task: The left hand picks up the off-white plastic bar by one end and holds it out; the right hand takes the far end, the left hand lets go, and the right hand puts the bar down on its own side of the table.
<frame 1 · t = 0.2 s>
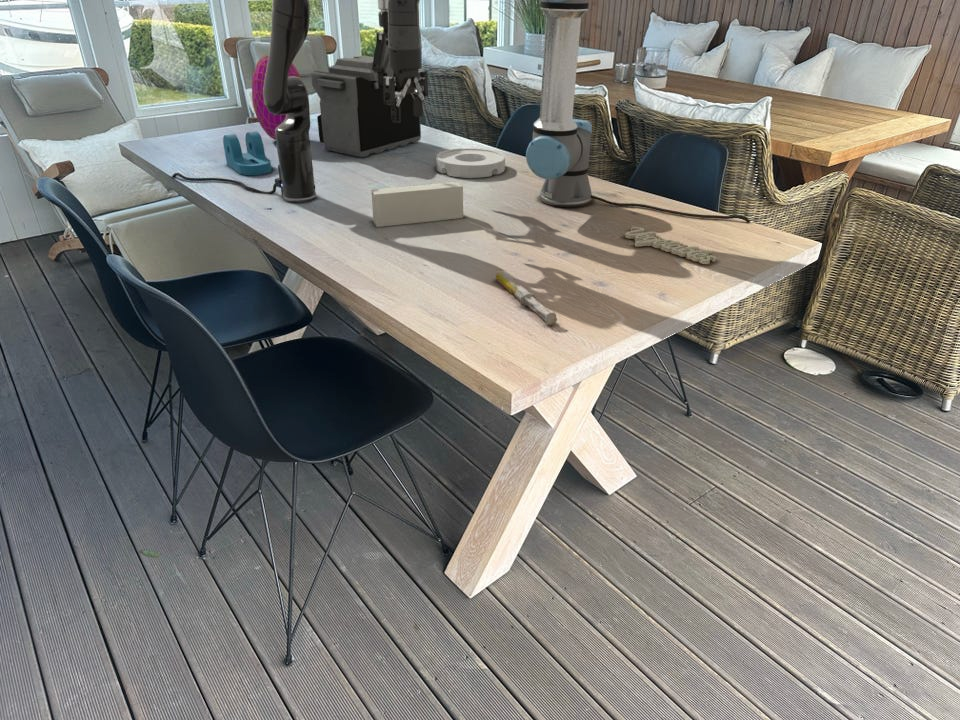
left hand: (407, 119, 166), 28 cm above the table, tool pointing down, fingers open, 8 cm apart
right hand: (396, 93, 197), 28 cm above the table, tool pointing down, fingers open, 13 cm apart
decorative sign: (664, 248, 171), on the table
decorative egg: (284, 140, 265), on the table
camera mount: (251, 168, 229), on the table
ashtray: (470, 168, 232), on the table
bar: (418, 219, 187), on the table
syringe: (524, 301, 143), on the table
tool box: (371, 146, 258), on the table
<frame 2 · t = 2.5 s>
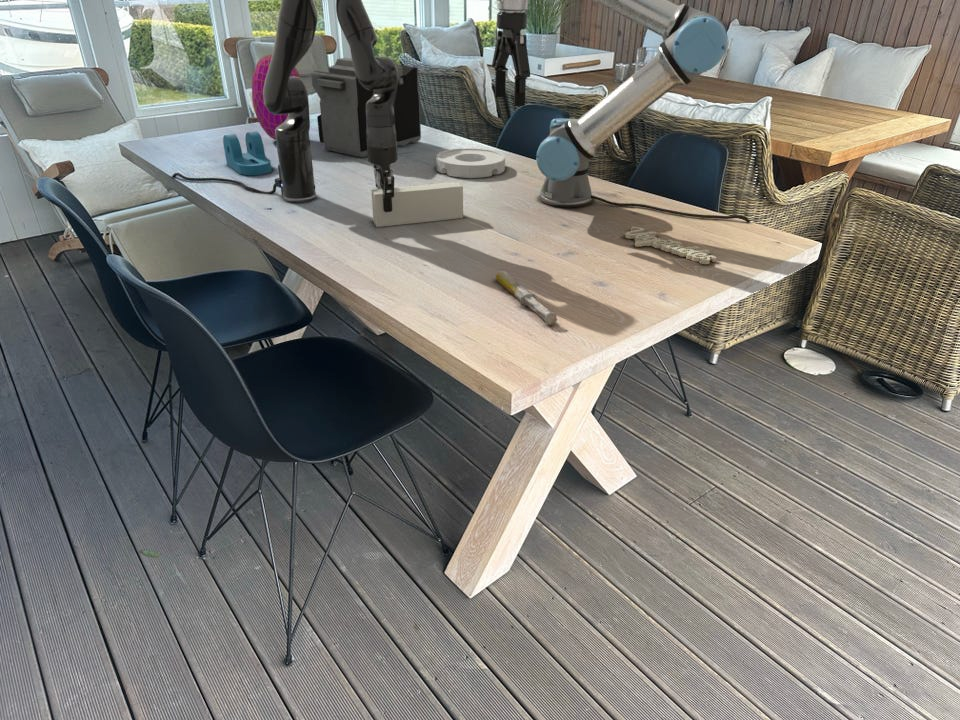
left hand: (385, 208, 182), 4 cm above the table, tool pointing down, fingers closed on bar, 4 cm apart
right hand: (509, 101, 181), 29 cm above the table, tool pointing down, fingers open, 13 cm apart
bar: (418, 219, 187), on the table, touching left hand
everything else where it was.
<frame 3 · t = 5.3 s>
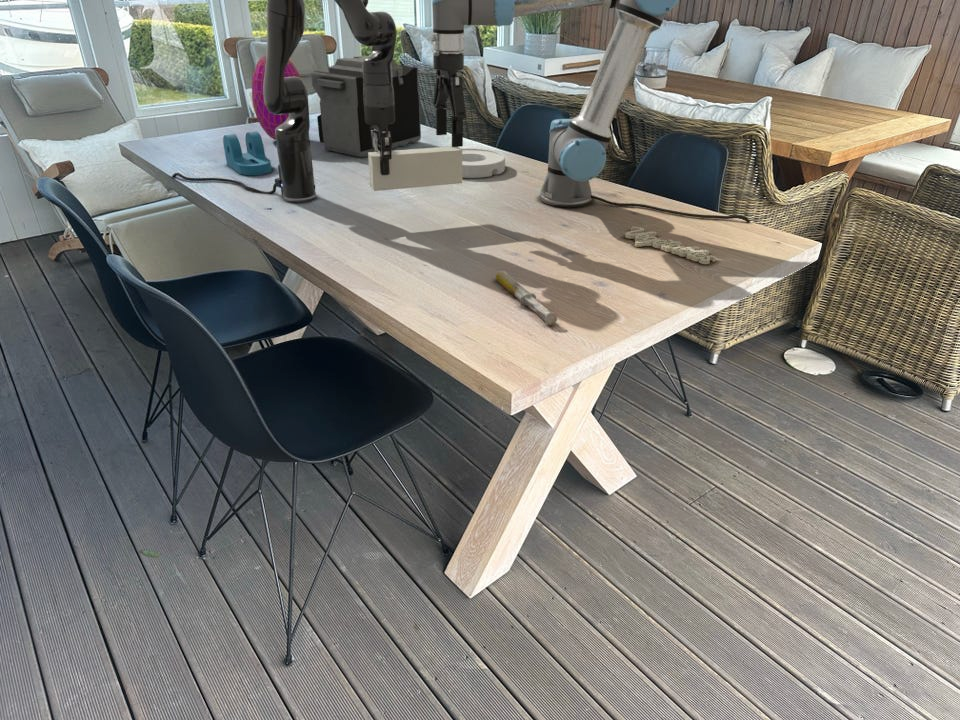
left hand: (382, 171, 177), 14 cm above the table, tool pointing down, fingers closed on bar, 4 cm apart
right hand: (449, 140, 179), 20 cm above the table, tool pointing down, fingers open, 13 cm apart
bar: (416, 184, 182), point 10 cm above the table, touching left hand
everything else where it was.
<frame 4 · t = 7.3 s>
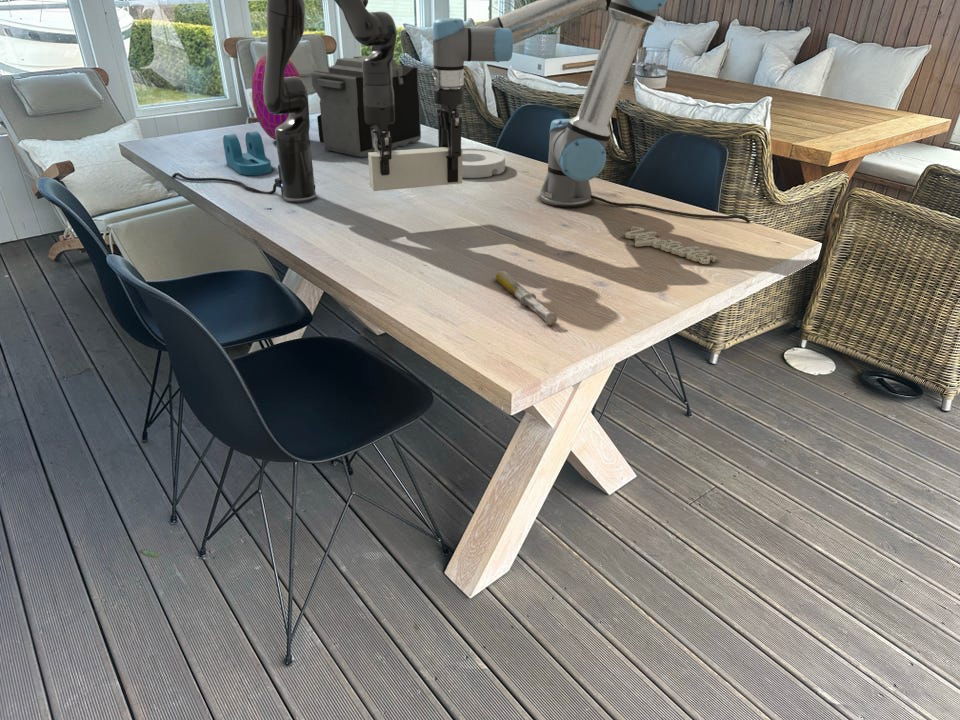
left hand: (382, 172, 177), 14 cm above the table, tool pointing down, fingers closed on bar, 4 cm apart
right hand: (449, 178, 184), 10 cm above the table, tool pointing down, fingers closed on bar, 4 cm apart
bar: (416, 184, 182), point 10 cm above the table, touching right hand, left hand
everything else where it was.
when the left hand's fingers open (14 cm above the table, at t = 7.9 s): bar stays where it is, held by the right hand.
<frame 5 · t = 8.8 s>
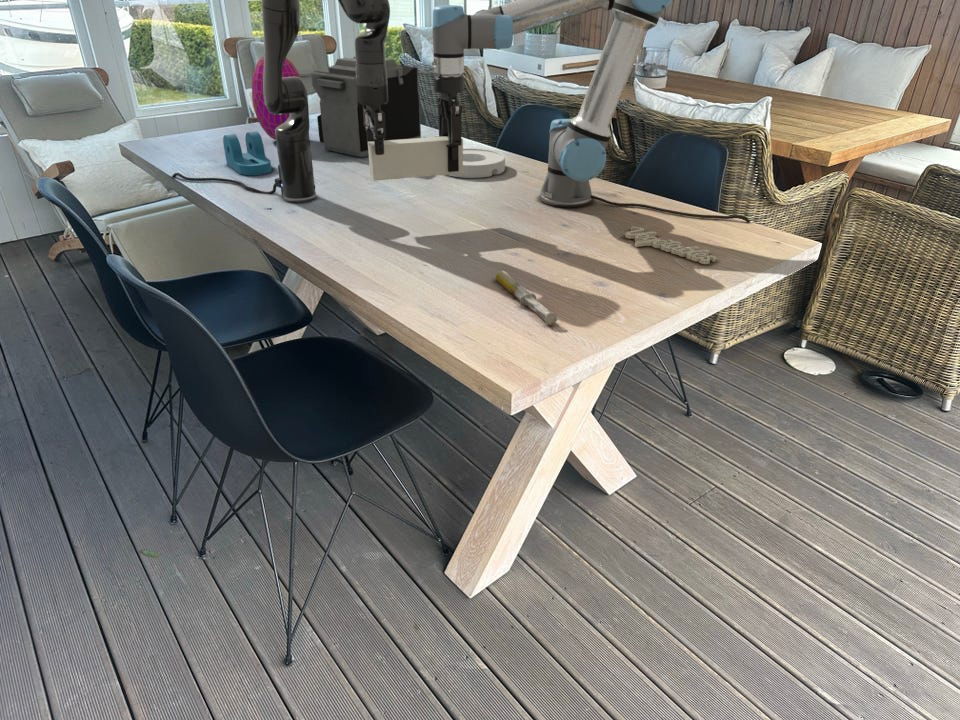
left hand: (375, 150, 174), 19 cm above the table, tool pointing down, fingers open, 8 cm apart
right hand: (450, 168, 183), 13 cm above the table, tool pointing down, fingers closed on bar, 4 cm apart
bar: (417, 174, 181), point 12 cm above the table, touching right hand
everything else where it was.
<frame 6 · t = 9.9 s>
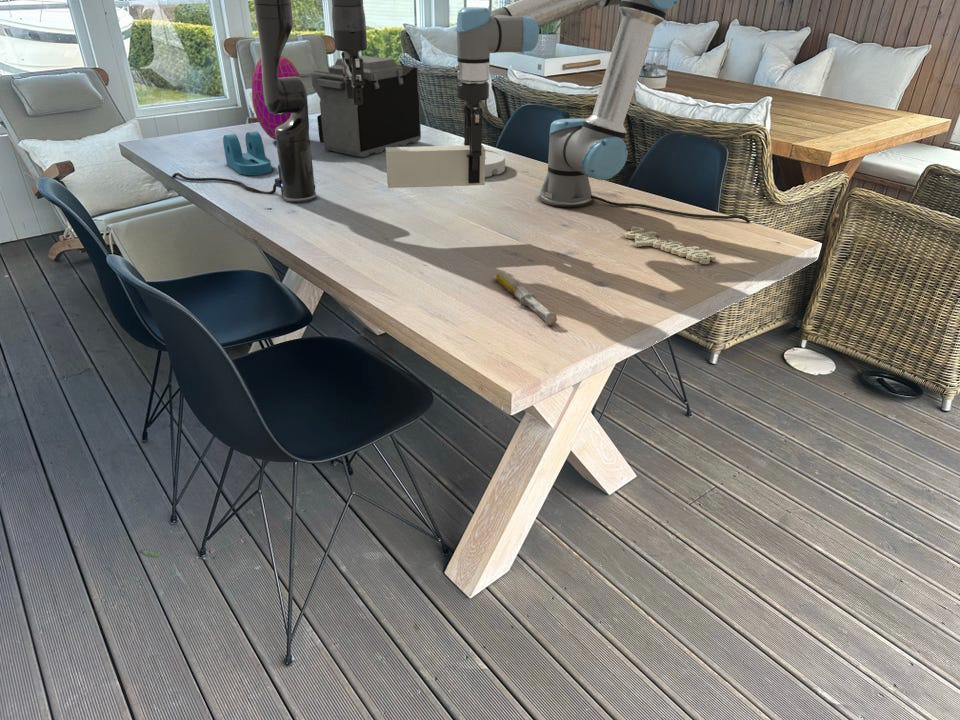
left hand: (355, 101, 167), 31 cm above the table, tool pointing down, fingers open, 8 cm apart
right hand: (472, 179, 173), 13 cm above the table, tool pointing down, fingers closed on bar, 4 cm apart
bar: (436, 184, 172), point 13 cm above the table, touching right hand
everything else where it was.
when the right hand's fingers open (2 cm above the table, at t = 13.1 s): bar drops 2 cm, on the table.
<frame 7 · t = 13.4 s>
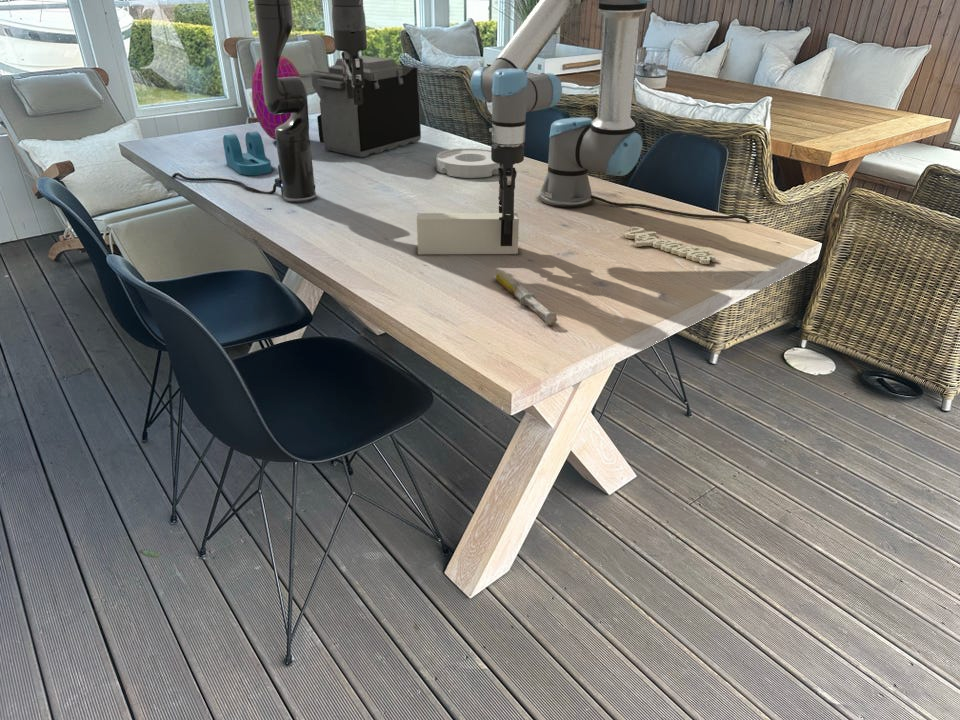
left hand: (355, 101, 167), 31 cm above the table, tool pointing down, fingers open, 8 cm apart
right hand: (505, 238, 166), 3 cm above the table, tool pointing down, fingers open, 8 cm apart
bar: (467, 250, 168), on the table
everything else where it was.
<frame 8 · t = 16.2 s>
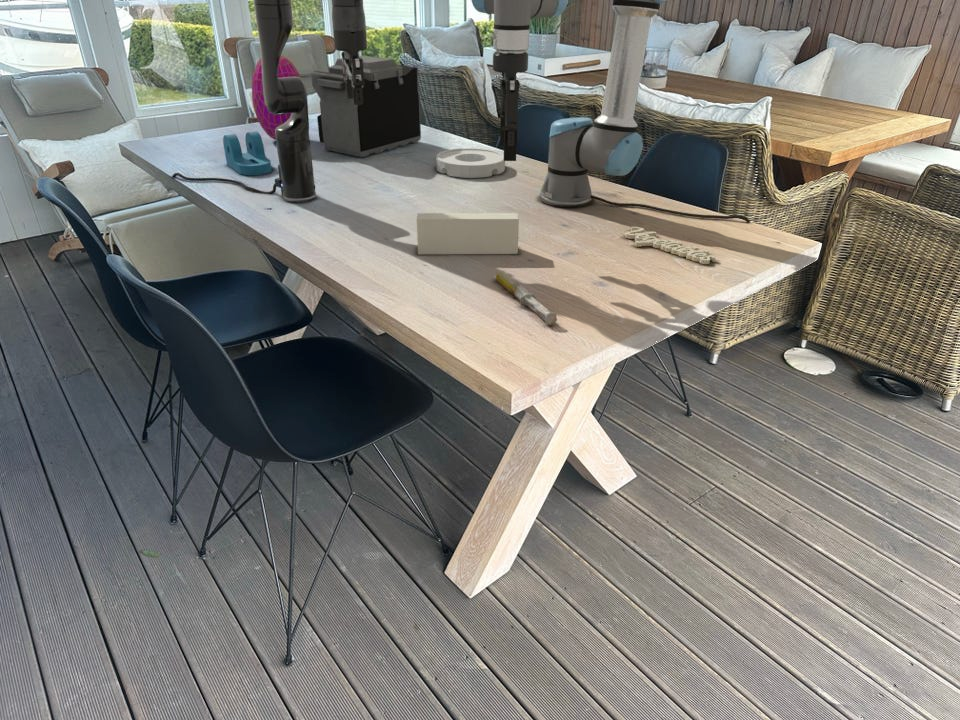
left hand: (355, 101, 167), 31 cm above the table, tool pointing down, fingers open, 8 cm apart
right hand: (507, 153, 156), 24 cm above the table, tool pointing down, fingers open, 13 cm apart
nothing on the table moved.
at the end: bar inside the target area (9.1 cm from its centre), on the table; the left hand is holding nothing; the right hand is holding nothing; bar at rest at the end (0.0 cm/s) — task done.
